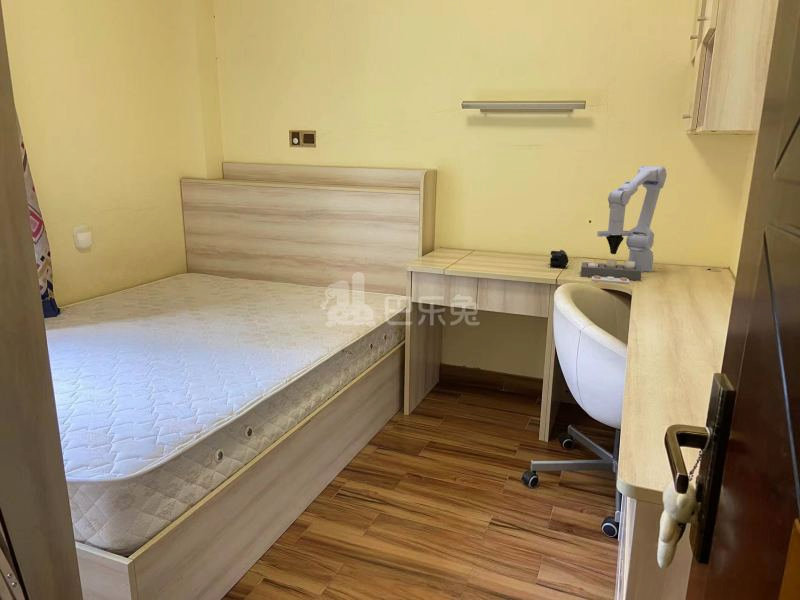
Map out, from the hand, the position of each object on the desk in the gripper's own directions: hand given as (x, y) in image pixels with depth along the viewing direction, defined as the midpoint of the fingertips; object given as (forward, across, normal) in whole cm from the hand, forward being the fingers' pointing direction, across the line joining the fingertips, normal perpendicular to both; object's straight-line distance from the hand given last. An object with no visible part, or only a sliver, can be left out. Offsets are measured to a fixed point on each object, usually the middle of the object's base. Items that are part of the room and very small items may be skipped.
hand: (613, 253), depth 248 cm
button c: (+9, +7, -3) cm, 11 cm away
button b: (+7, 0, 0) cm, 7 cm away
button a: (+7, -6, +3) cm, 9 cm away
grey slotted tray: (+9, 0, 0) cm, 9 cm away
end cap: (+10, +14, -21) cm, 27 cm away
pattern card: (+9, +5, +9) cm, 14 cm away
